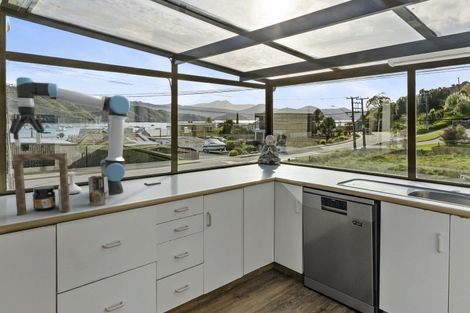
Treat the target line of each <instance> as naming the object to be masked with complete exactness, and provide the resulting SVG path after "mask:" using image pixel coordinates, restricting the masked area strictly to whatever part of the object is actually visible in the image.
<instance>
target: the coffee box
mask: <svg viewBox="0 0 470 313" xmlns="http://www.w3.org/2000/svg"><path fill="white" fill-rule="evenodd" d="M87 182H88V194H89V196H88V197H89V198H88V199H89V205H90V206H102V205H103V206H104V205H105V206H106V205H107V204H109V203H110V197H109V196H110V195H109V190H108V176H101V175H92V176H90V177H88V178H87Z"/></svg>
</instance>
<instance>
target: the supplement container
mask: <svg viewBox="0 0 470 313" xmlns="http://www.w3.org/2000/svg"><path fill="white" fill-rule="evenodd" d="M32 191H33V194H32V203H33V204H32V205H33V210H34V211H36V212H46V211H52V210H54V209H55V208H56V207H57V203H56V200H57V199H56V192H55V186H54V185H44V186H43V185H41V186H36V187H33V189H32Z"/></svg>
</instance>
